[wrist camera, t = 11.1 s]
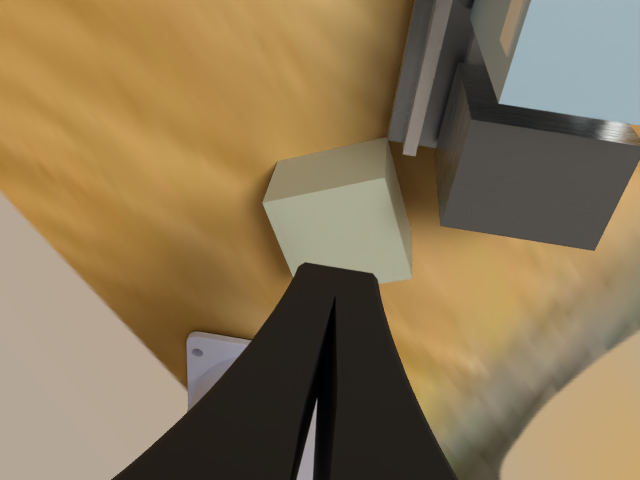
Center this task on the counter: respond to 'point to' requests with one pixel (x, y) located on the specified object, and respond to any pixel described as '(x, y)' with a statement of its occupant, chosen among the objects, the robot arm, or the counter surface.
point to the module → (563, 55)
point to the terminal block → (342, 211)
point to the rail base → (503, 142)
